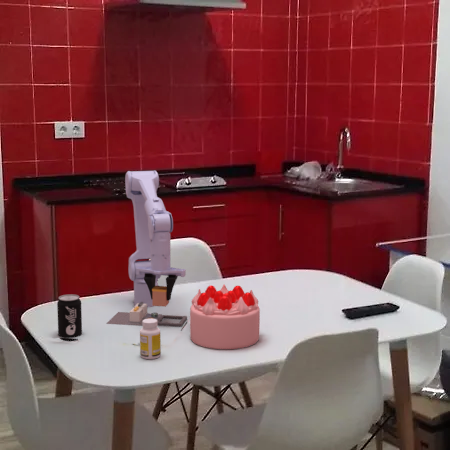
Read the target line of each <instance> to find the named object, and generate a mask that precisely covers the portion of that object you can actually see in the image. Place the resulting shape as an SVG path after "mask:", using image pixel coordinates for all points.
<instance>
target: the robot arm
mask: <svg viewBox="0 0 450 450" xmlns="http://www.w3.org/2000/svg"><path fill="white" fill-rule="evenodd" d="M124 177H125V180H124V182H125V183H124V185H125V194H126V198H128V199H129V200H131V201H132V206H133V218H134V232H135V246H136V250H135V252H133V253H132V254H131V255H130V256H129V257H128V277H129V279H130V280H131V282H132V281H133V305H134V306H135V305H136V304H137V303H140V302H143V304H147V308H151V307H153V306H152V300H153V291H152V289H153V288H154V287H155V286H159V283H158V282H159V280H160V278H161V277H162V276H166V277H165V283H166V285H165V286H167V300H169V301H170V300H171V298H172V292H173V290H174V289H173V288H174V287H175V284H176V281H177V279H178V277H180V278H184V277H186V275H187V274H186V270H187V269H186V268H177V267H171V233H172V232H173V230H174V219H173V216H172V213H171V212H169V211H167V210H166V206H165V204H164V202H163V200H162V198H160V197H158V195H157V194H158V193H157V191H158V188H159V186H160V182H159V181H160V177H159V173H158V172H157V170H138V171H137V170H135V171H133V170H132V171H130V170H128V171H127V172H126V173H125V176H124Z"/></svg>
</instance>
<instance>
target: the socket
mask: <svg viewBox="0 0 450 450" xmlns="http://www.w3.org/2000/svg"><path fill="white" fill-rule="evenodd" d="M165 319H166V320H180V321H178V322H167V321H166V322H165V321H163V320H165ZM187 320H188V316H187V315H173V314H172V315H168V314H162V315H161V316H160V317H159V318H158V319H157V321H158V326H157V327H172V328H173V327H174V328H181V330H180V332H182V330H183V329H184V328H185V326H186V325H187V324H188V321H187Z"/></svg>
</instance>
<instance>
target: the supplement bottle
mask: <svg viewBox="0 0 450 450" xmlns="http://www.w3.org/2000/svg"><path fill="white" fill-rule="evenodd" d="M161 343H162V341H161V330H160V328H159V326H158V321H157V320H156V319H144V320H143V321H142V326H141V328H140V330H139V351H140V352H139V354H140V355H139V356H140V357H141V359H146V360H153V359H154V360H155V359H158V358H160V357H161V355H162V351H161V349H162V348H161V346H162V345H161Z"/></svg>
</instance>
